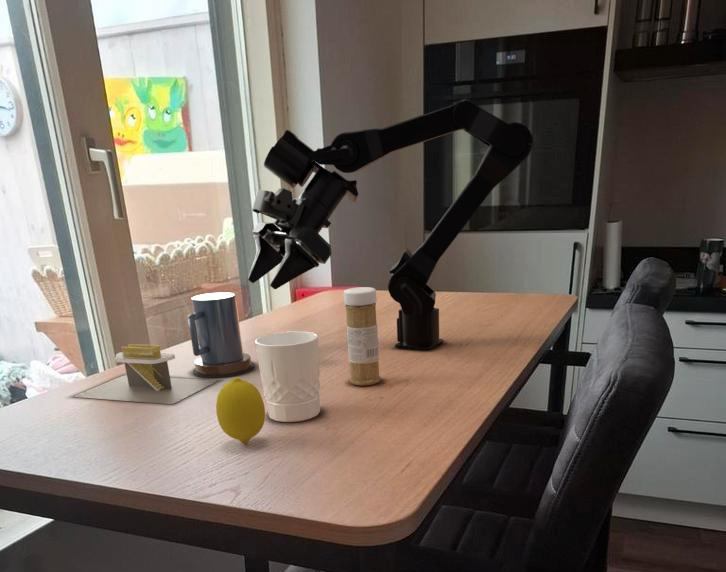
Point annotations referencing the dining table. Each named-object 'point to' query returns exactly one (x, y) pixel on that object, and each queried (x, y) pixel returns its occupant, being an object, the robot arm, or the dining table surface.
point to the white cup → (290, 374)
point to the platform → (146, 379)
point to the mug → (217, 335)
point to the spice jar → (362, 335)
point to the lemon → (240, 410)
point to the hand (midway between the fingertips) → (261, 284)
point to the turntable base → (224, 375)
